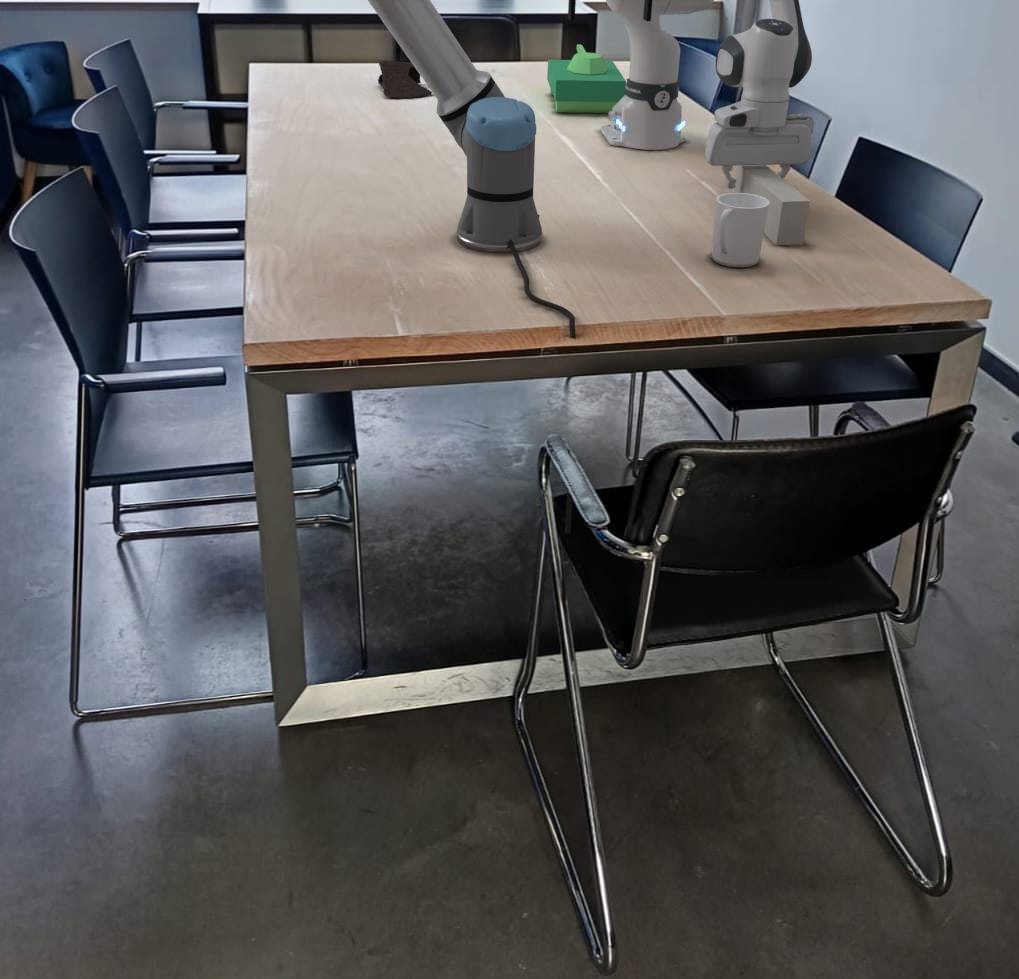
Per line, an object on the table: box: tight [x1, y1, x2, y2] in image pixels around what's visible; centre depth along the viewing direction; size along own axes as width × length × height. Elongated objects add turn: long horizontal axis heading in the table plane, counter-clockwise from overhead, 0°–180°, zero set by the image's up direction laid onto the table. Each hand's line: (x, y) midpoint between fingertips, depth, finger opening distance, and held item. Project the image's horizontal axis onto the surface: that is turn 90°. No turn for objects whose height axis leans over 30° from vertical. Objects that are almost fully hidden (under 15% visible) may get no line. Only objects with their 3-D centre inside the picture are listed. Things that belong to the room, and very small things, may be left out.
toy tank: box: [546, 44, 627, 114], centre depth 291 cm, size 18×12×35 cm
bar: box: [732, 165, 811, 246], centre depth 206 cm, size 26×5×8 cm, turn 8°
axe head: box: [377, 59, 433, 99], centre depth 299 cm, size 18×8×15 cm
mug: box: [711, 192, 770, 268], centre depth 186 cm, size 11×9×10 cm
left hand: (609, 20), depth 193 cm, fingers open, 13 cm apart
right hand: (753, 187), depth 213 cm, fingers open, 8 cm apart
